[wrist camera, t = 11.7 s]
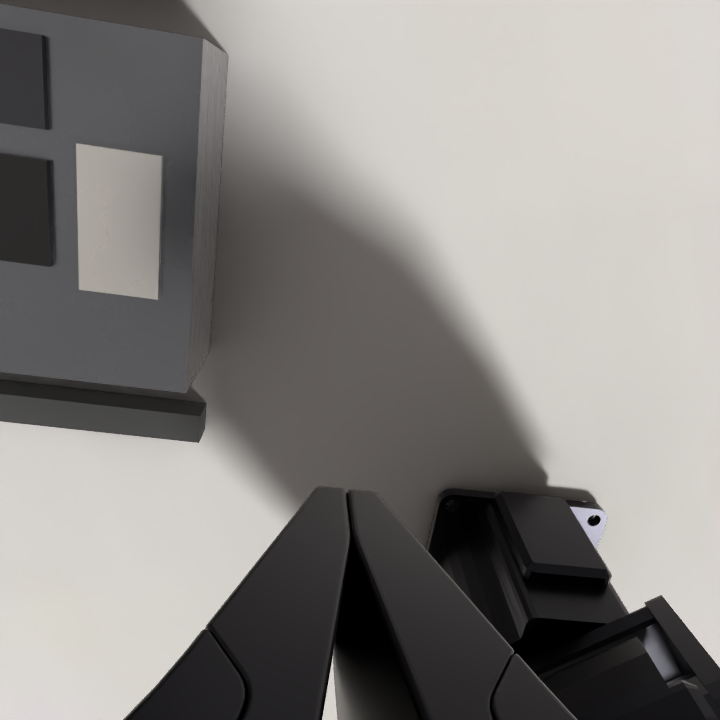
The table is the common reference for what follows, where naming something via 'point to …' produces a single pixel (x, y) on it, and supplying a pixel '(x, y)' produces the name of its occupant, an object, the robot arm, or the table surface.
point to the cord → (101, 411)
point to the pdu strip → (107, 199)
